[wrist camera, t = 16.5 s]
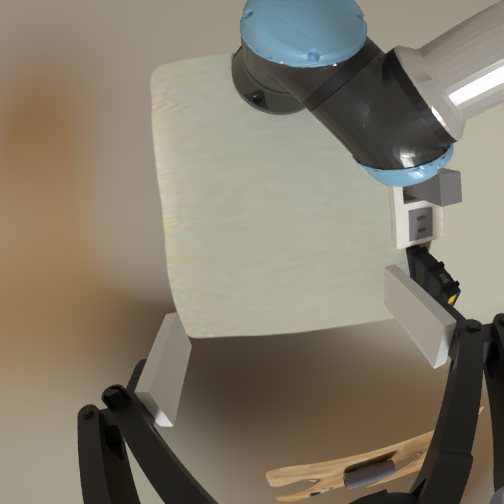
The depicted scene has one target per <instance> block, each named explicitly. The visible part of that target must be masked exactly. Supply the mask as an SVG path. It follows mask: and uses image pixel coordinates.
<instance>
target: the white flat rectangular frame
mask: <svg viewBox="0 0 504 504" xmlns="http://www.w3.org/2000/svg"><path fill="white" fill-rule="evenodd" d="M388 190H389V201H390V213H391V229H392V246H393V247H394V248H396V249H401V248H405V247H409V246H412V245H416V244H420V243H424V242H427V241H431V240H435V239H438V238H442V230H443V228H442V227H443V222H442V220H443V219H442V218H443V216H442V215H443V214H442V207H440V206H438V205H435V204H432V203H430V202H427V201H424V200H421V199H413V200H408V201H403V190H402V187H392V186H388Z"/></svg>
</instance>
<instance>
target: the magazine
mask: <svg viewBox="0 0 504 504" xmlns="http://www.w3.org/2000/svg"><path fill="white" fill-rule="evenodd" d="M406 252H407V258H408V264H409V271H410V278H411V279H412V280H414V281H415V282H416V283H417V284H418V285H419V286H420V287H421V288H422V289H424V290H425V291H426V292H427V293H428V294H429V295H430V296H433V295H438V296H440V297H442V298H444V299H445V300H446V301H447V302H448V303H449V304H450V305H452V306H454V304H455V302H456V300H457V298H458V296H459V294H460V292H461V290H460V289H459V287H458V286H459V282H458V281H456V282H454V280H453V279H452V277H451V276H450V274H449V273H447V271H446V270H445V269H444V263H443V262H442V261H441V262H438V261H437V260H436V259H435V258H434V257H433V256H432V255H431V254H429V253H428V251H427V248H426V247H425V246H424V247H422V248H421V247H420V246H419V245H414V246H412V247H410V248H408V249H407V250H406Z"/></svg>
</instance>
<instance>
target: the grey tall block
mask: <svg viewBox="0 0 504 504" xmlns="http://www.w3.org/2000/svg"><path fill="white" fill-rule="evenodd" d="M437 171H438V173H437V174H436V175H434V176H433V177H431V178H429V179H427V180H425V181H423V182H420V183H417V184H414V185H410V186H404V187H403V192H404V194H407V195H410V196H413V197H416V198H419V199H421V200H424V201H427V202H430V203H432V204H435V205H438V206H440V207H443V206H447V205H451V204H455V203H459V202H462V195H461V177H460V171H455V170H450V169H444V168H440V169H437Z"/></svg>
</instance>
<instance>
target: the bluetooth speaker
mask: <svg viewBox="0 0 504 504" xmlns="http://www.w3.org/2000/svg"><path fill="white" fill-rule="evenodd" d="M394 473H395V466H394V462H393V461H392V460H387V461H384V462H380V463H377V462H375V463H372V464H369V465H366V466H362V467H359V468H357V469H356V471H353V472H350V473H347V474H344V476H343V479H344V484H345V486H346V489H351V488H355V487H359V486H363V485H366V484H370V483H373V482H375V481H378V480H381V479H383V478H386V477H388V476H391V475H393V474H394Z"/></svg>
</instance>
